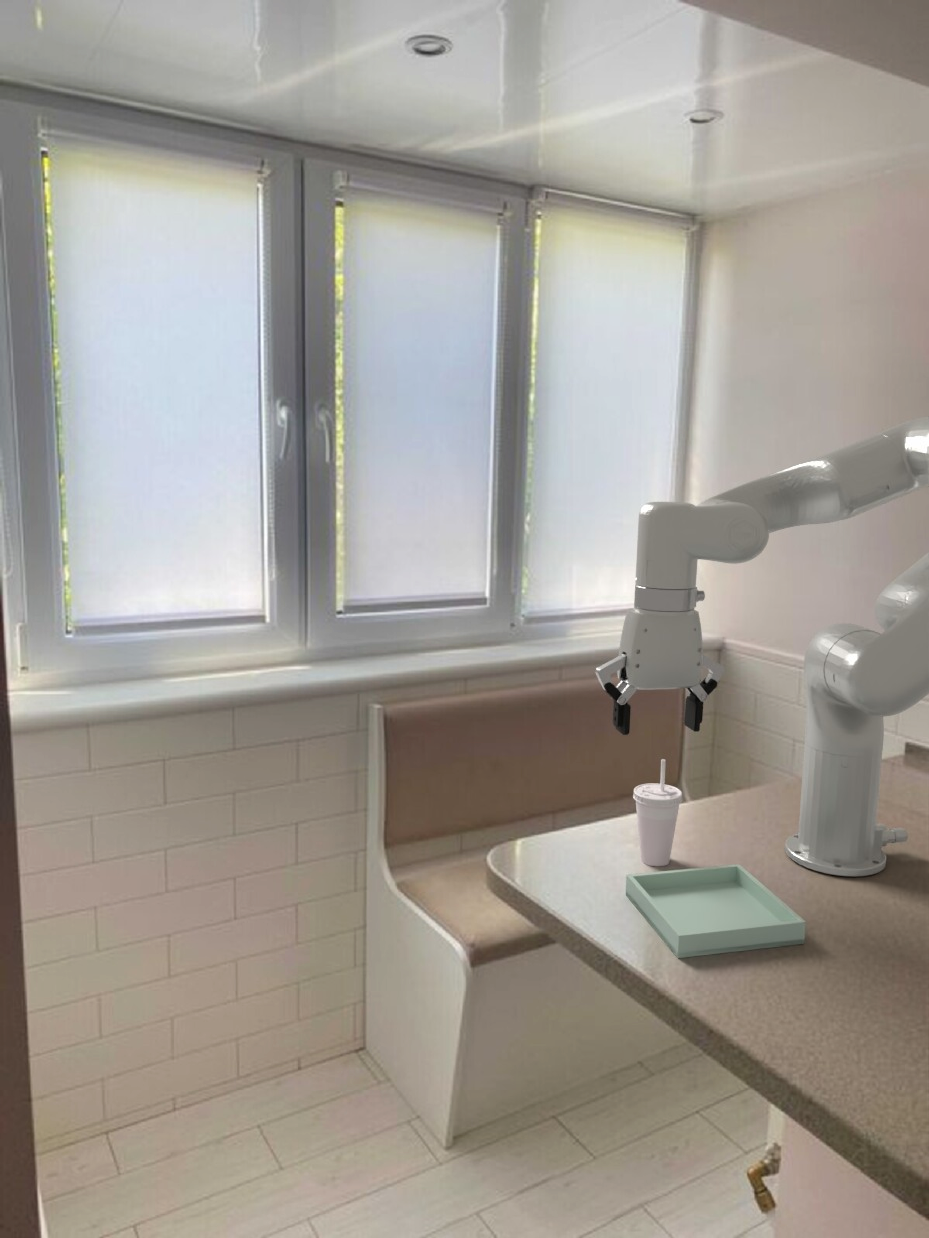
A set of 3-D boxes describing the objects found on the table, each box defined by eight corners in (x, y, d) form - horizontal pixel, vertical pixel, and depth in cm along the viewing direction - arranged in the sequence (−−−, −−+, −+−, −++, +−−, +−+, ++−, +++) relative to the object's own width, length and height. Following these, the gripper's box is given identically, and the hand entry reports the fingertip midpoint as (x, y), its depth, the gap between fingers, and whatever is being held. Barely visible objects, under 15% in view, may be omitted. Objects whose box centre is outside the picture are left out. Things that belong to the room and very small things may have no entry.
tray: (737, 883, 118) (739, 863, 117) (804, 943, 103) (805, 921, 103) (625, 894, 114) (626, 874, 114) (677, 958, 100) (678, 935, 100)
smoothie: (680, 872, 120) (684, 769, 118) (629, 868, 122) (633, 765, 119) (679, 852, 127) (683, 753, 124) (631, 848, 128) (634, 750, 125)
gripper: (713, 594, 123) (705, 719, 126) (589, 596, 120) (584, 725, 123) (741, 603, 116) (732, 735, 119) (610, 605, 113) (604, 742, 116)
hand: (657, 730), depth 121 cm, fingers open, 9 cm apart
